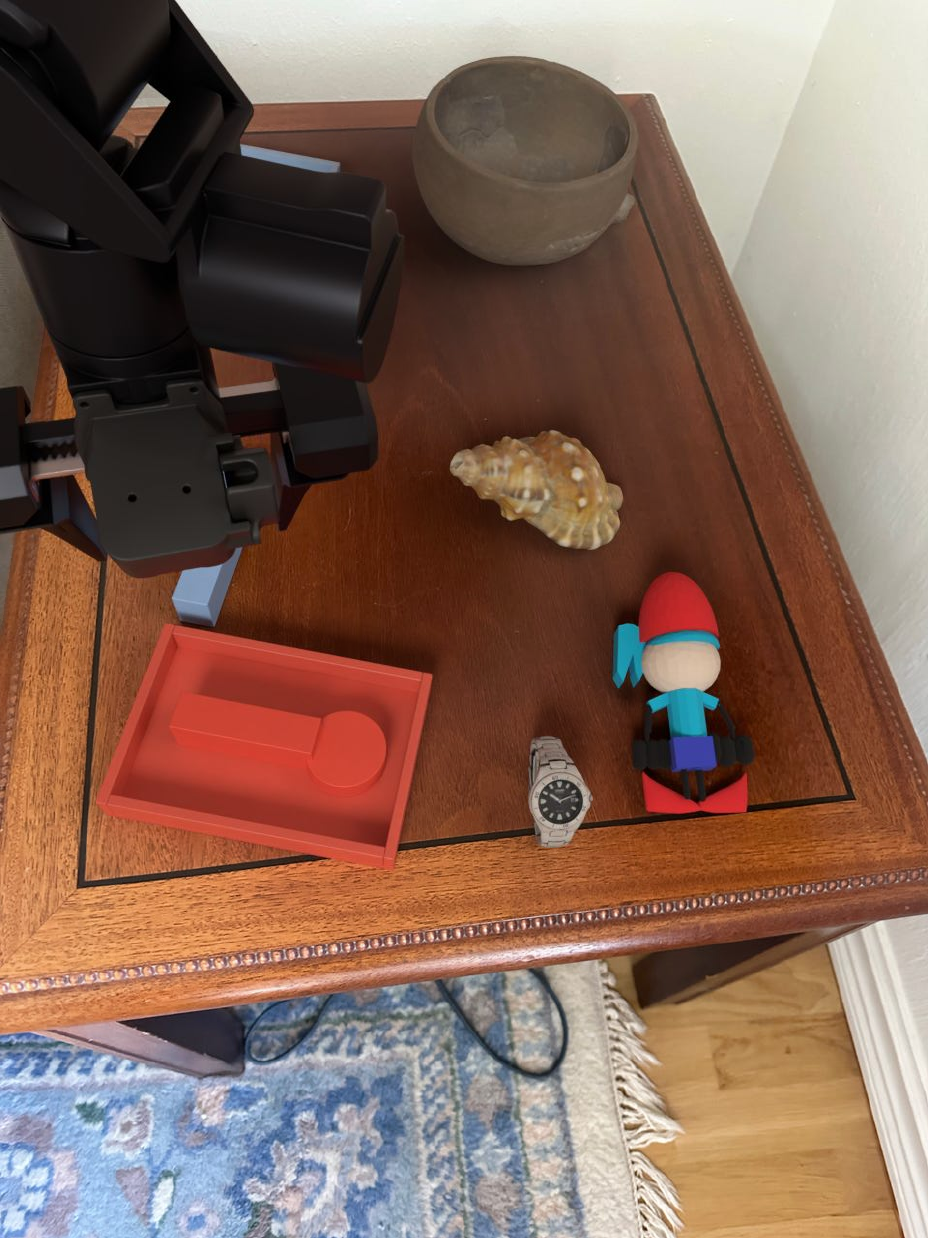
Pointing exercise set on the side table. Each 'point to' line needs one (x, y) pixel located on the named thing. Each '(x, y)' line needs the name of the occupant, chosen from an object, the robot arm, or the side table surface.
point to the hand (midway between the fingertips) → (193, 538)
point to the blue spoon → (204, 591)
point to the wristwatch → (555, 793)
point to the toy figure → (680, 695)
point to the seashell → (545, 487)
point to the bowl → (524, 159)
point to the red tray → (256, 790)
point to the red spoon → (287, 740)
